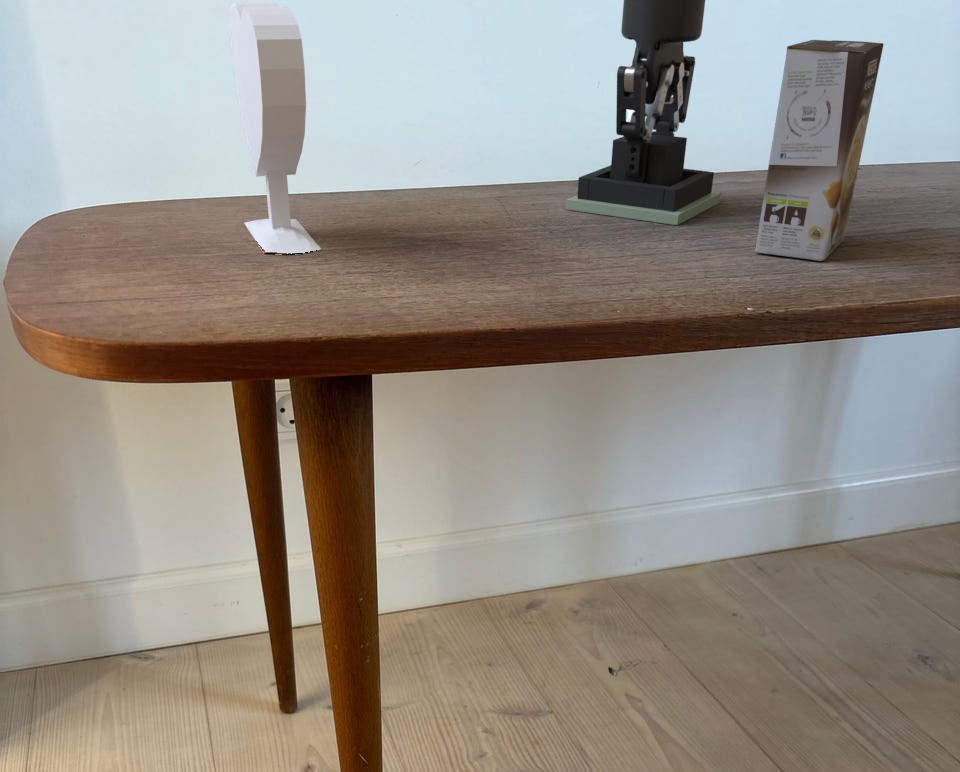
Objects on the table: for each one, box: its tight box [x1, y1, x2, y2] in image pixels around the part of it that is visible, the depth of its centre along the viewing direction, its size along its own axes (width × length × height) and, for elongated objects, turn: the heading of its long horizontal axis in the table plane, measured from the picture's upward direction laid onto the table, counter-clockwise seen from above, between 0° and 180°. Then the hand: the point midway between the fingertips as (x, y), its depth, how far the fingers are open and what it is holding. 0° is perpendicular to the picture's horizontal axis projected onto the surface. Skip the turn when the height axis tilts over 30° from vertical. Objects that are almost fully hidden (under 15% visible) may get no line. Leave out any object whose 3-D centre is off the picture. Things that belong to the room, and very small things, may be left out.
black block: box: [610, 134, 688, 187], centre depth 105 cm, size 6×6×4 cm
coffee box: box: [754, 39, 885, 262], centre depth 91 cm, size 9×6×16 cm
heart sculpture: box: [228, 2, 322, 254], centre depth 91 cm, size 16×5×18 cm, turn 19°
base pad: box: [565, 164, 722, 226], centre depth 107 cm, size 12×12×3 cm
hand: (647, 176), depth 106 cm, fingers closed on black block, 5 cm apart
